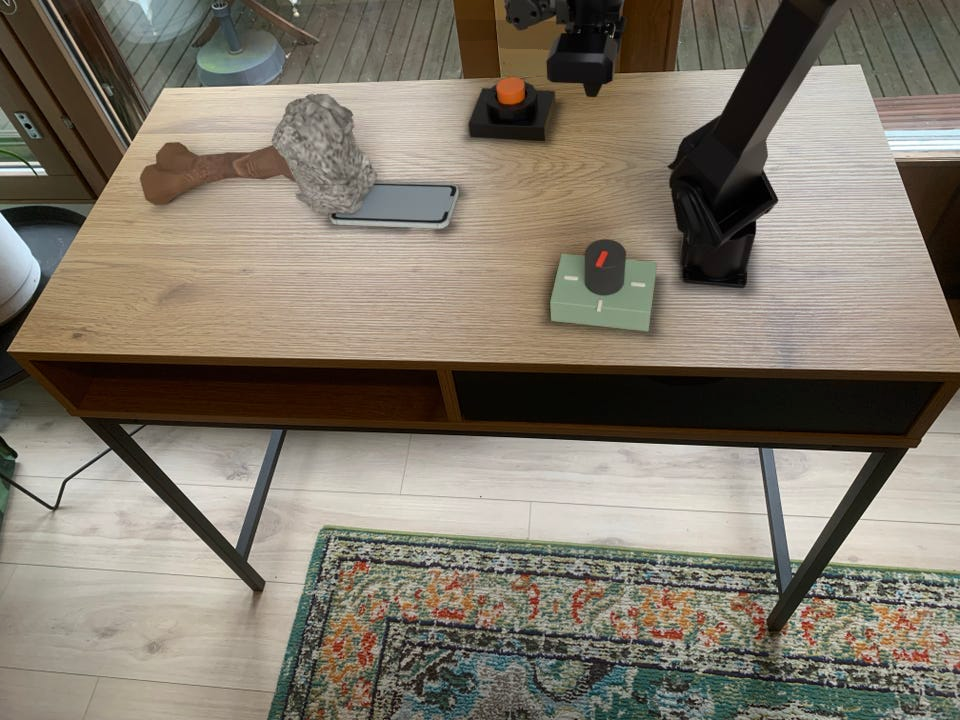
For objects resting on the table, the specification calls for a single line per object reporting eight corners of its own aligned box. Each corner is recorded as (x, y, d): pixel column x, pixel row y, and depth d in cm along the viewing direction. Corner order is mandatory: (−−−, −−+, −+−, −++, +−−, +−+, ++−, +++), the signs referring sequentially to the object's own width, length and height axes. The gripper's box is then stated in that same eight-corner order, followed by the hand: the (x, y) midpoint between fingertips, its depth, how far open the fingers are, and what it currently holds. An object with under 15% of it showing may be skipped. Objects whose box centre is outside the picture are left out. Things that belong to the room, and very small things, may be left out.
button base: (555, 105, 100) (554, 78, 97) (544, 141, 96) (543, 114, 93) (483, 102, 102) (480, 75, 99) (470, 137, 98) (466, 111, 95)
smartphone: (345, 181, 94) (459, 184, 91) (347, 187, 95) (461, 190, 92) (327, 220, 90) (446, 225, 86) (329, 226, 91) (447, 231, 87)
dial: (592, 263, 78) (592, 233, 74) (629, 272, 76) (631, 241, 73) (578, 290, 75) (578, 260, 72) (616, 299, 74) (618, 269, 71)
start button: (527, 89, 97) (526, 77, 95) (522, 106, 95) (521, 93, 93) (500, 88, 98) (499, 76, 96) (494, 104, 96) (493, 92, 94)
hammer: (202, 176, 104) (395, 161, 93) (178, 237, 100) (377, 229, 89) (127, 98, 91) (341, 71, 81) (96, 164, 87) (317, 145, 77)
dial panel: (655, 277, 79) (657, 256, 77) (647, 336, 75) (650, 315, 72) (562, 269, 82) (562, 248, 79) (549, 325, 77) (548, 305, 75)
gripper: (527, -98, 75) (534, 47, 88) (485, -5, 65) (501, 144, 77) (638, -100, 73) (630, 49, 85) (614, -5, 62) (609, 150, 74)
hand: (592, 95), depth 81 cm, fingers closed
